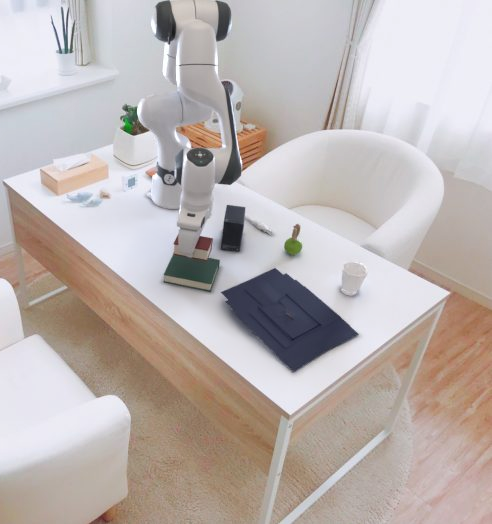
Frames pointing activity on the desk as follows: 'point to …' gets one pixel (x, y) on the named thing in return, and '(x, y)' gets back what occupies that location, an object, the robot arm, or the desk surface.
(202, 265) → the hardcover book
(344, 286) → the cup
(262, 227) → the stylus pen
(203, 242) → the pocket dictionary
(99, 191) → the desk surface
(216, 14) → the robot arm
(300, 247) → the snail figurine
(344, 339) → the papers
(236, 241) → the small box
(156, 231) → the desk surface
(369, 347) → the desk surface
